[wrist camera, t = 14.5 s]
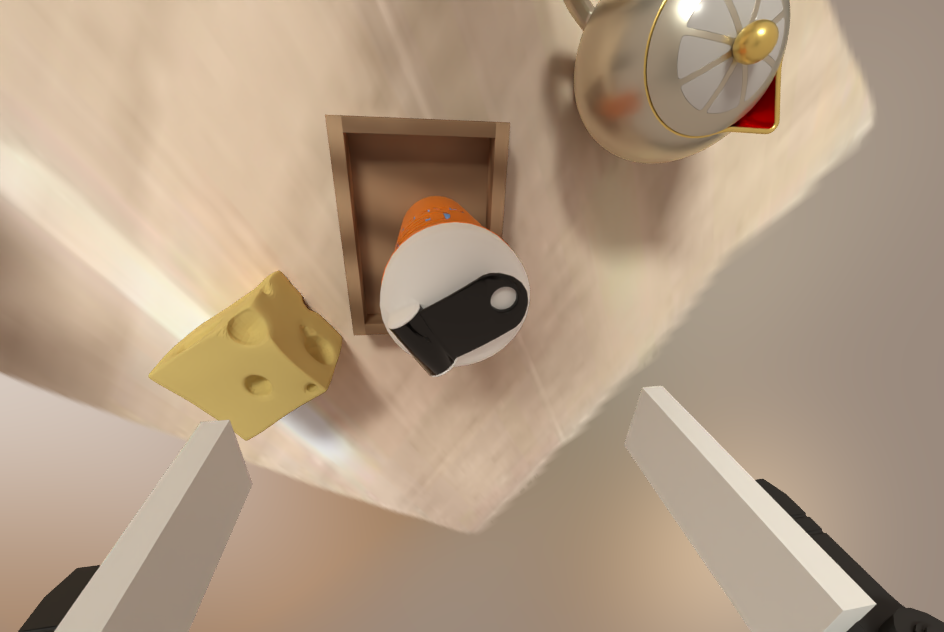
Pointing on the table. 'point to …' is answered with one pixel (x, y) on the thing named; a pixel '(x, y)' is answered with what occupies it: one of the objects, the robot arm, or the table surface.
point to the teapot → (677, 72)
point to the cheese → (254, 359)
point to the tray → (406, 188)
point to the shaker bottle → (451, 288)
